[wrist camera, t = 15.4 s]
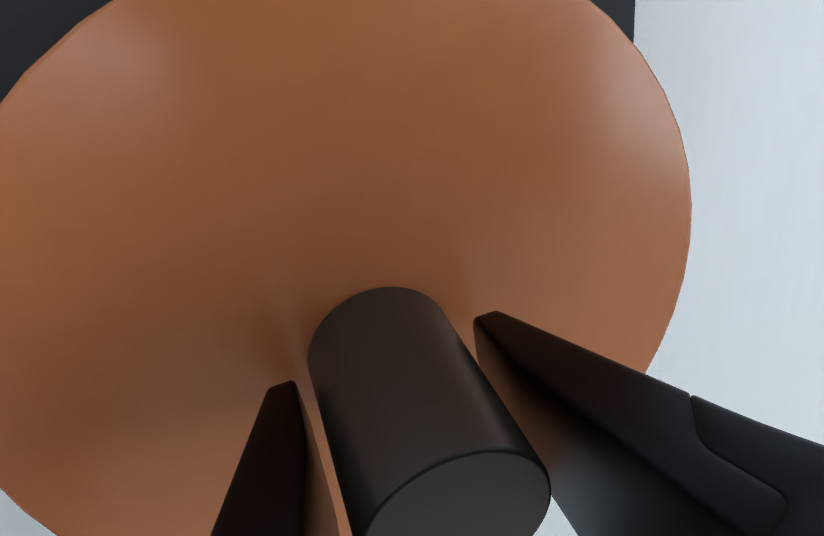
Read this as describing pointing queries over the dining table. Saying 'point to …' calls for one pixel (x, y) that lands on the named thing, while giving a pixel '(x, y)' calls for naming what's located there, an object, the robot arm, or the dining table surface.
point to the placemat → (70, 3)
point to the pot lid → (319, 249)
